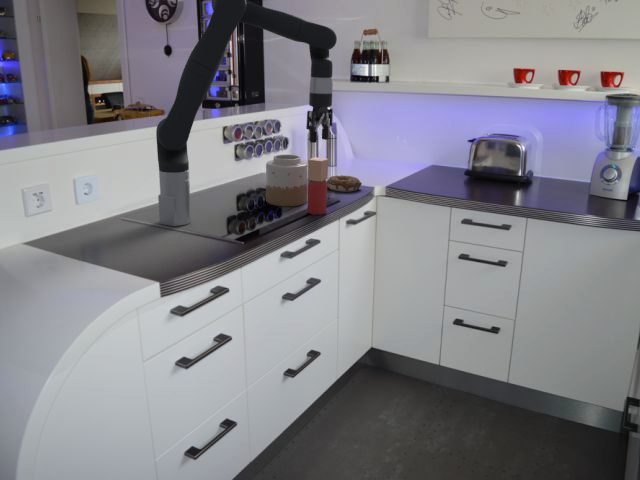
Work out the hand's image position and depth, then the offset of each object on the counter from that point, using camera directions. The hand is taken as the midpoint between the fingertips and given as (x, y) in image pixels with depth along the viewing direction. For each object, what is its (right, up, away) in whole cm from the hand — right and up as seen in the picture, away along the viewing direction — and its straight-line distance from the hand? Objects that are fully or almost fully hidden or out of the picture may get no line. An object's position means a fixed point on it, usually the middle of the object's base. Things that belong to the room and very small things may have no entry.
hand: (319, 140), depth 203 cm
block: (-1, -12, +4) cm, 13 cm away
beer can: (-1, -24, +8) cm, 25 cm away
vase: (-12, -19, +22) cm, 32 cm away
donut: (+10, -13, +44) cm, 46 cm away
